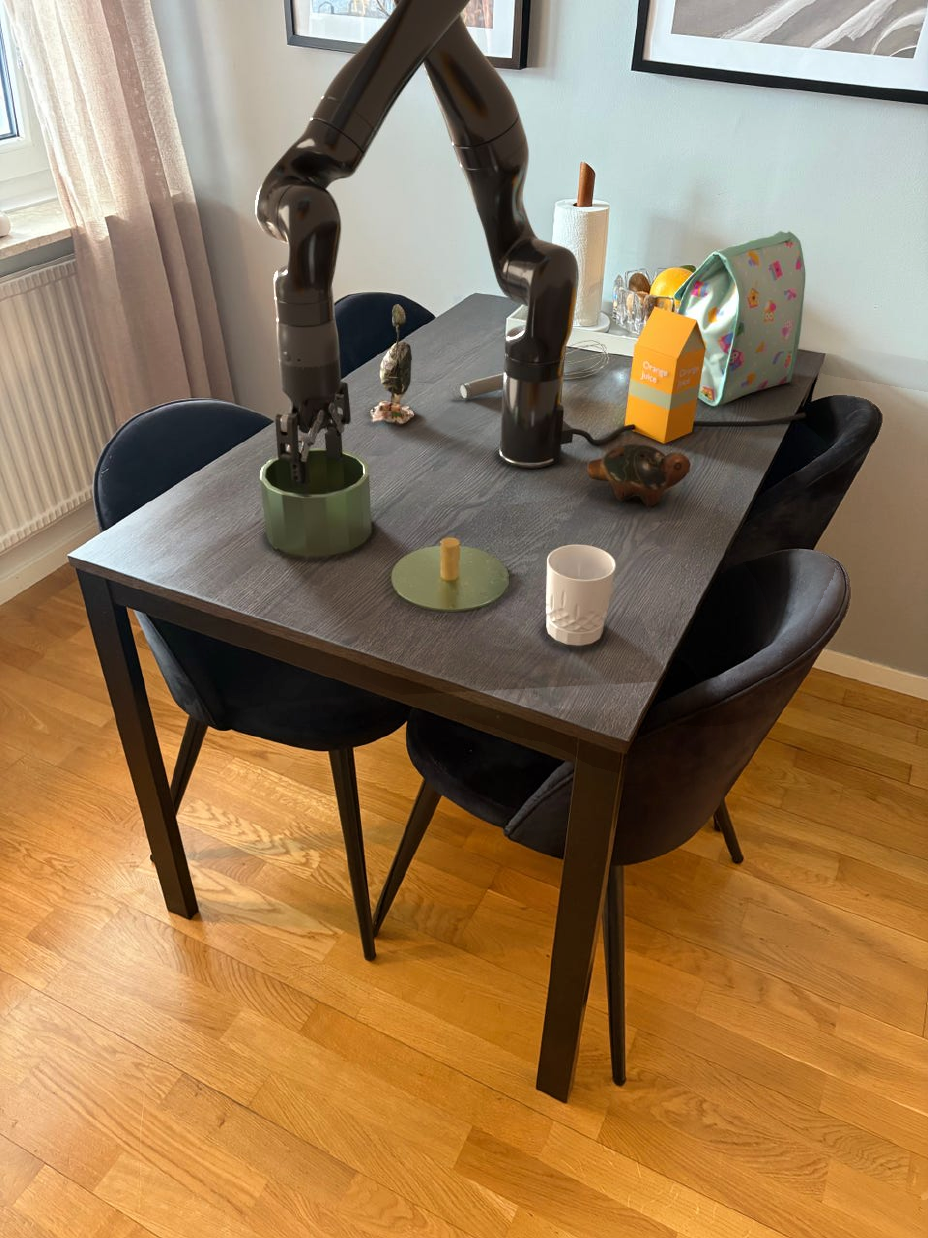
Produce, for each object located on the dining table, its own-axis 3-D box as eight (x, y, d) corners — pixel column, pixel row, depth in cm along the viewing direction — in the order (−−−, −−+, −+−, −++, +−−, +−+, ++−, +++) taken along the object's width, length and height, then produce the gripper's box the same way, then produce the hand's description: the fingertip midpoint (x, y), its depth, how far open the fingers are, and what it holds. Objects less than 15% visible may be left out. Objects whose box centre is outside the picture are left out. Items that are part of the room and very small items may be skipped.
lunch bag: (730, 359, 192) (756, 218, 176) (799, 385, 182) (833, 237, 166) (652, 385, 180) (673, 236, 164) (722, 414, 170) (751, 257, 154)
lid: (500, 549, 131) (502, 510, 127) (516, 613, 119) (519, 572, 115) (388, 554, 129) (387, 514, 126) (393, 619, 117) (392, 577, 114)
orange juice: (663, 444, 159) (681, 324, 148) (623, 426, 165) (638, 310, 153) (692, 431, 164) (712, 314, 152) (652, 415, 169) (669, 301, 157)
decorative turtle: (684, 516, 139) (688, 467, 134) (581, 507, 143) (581, 459, 138) (690, 483, 147) (694, 436, 142) (592, 476, 150) (593, 429, 146)
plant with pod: (427, 406, 171) (426, 292, 159) (402, 430, 162) (399, 312, 150) (385, 399, 173) (381, 286, 161) (358, 423, 164) (352, 306, 152)
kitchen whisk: (444, 394, 175) (445, 361, 171) (595, 365, 189) (598, 334, 185) (461, 406, 170) (461, 372, 167) (613, 376, 184) (617, 344, 181)
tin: (370, 506, 140) (367, 446, 135) (372, 557, 129) (370, 495, 123) (270, 509, 139) (264, 449, 133) (264, 562, 127) (256, 498, 122)
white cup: (537, 614, 119) (542, 545, 113) (599, 612, 119) (608, 543, 113) (547, 653, 112) (553, 581, 106) (613, 650, 113) (622, 579, 107)
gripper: (304, 378, 112) (314, 500, 122) (363, 340, 123) (368, 455, 132) (250, 367, 115) (264, 488, 124) (313, 331, 125) (321, 445, 135)
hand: (318, 471), depth 128 cm, fingers open, 8 cm apart
